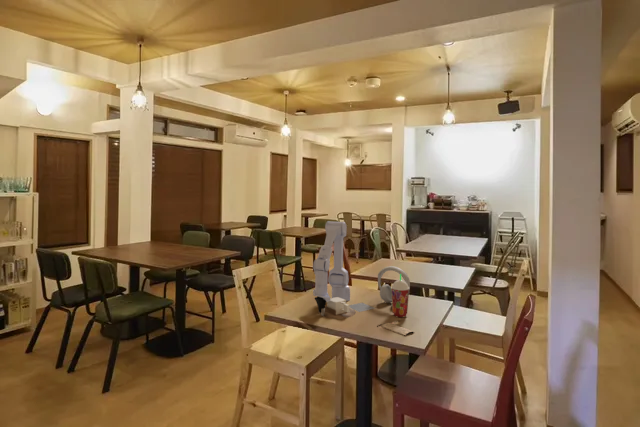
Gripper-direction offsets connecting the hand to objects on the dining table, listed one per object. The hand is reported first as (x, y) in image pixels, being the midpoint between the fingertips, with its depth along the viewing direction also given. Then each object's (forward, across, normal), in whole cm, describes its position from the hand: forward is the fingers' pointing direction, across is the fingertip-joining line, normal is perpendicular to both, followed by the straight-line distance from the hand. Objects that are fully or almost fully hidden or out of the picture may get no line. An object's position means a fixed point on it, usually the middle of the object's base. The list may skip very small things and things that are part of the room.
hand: (321, 312), depth 183 cm
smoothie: (+2, +15, +35) cm, 38 cm away
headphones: (+2, -1, +42) cm, 42 cm away
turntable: (+2, 0, +8) cm, 9 cm away
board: (+2, 0, +13) cm, 13 cm away
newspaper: (+3, +24, +22) cm, 33 cm away
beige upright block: (+1, +2, +9) cm, 9 cm away
